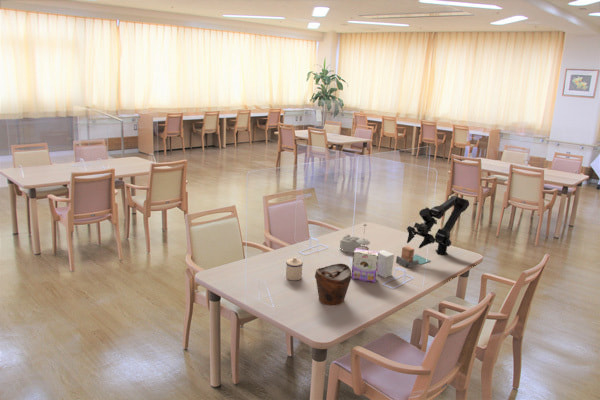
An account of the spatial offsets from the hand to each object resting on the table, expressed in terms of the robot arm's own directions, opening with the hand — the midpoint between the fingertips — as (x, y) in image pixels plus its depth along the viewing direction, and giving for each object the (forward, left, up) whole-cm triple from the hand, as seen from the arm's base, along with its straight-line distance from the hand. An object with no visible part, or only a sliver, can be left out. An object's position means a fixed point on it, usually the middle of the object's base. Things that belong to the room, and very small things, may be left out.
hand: (413, 245), depth 299 cm
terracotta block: (+2, -3, -11) cm, 12 cm away
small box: (+18, -21, -11) cm, 30 cm away
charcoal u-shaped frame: (+2, -3, -11) cm, 12 cm away
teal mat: (-4, +6, -11) cm, 13 cm away
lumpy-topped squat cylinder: (-17, -36, -11) cm, 41 cm away
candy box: (+25, -33, -11) cm, 43 cm away
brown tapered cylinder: (+51, -54, -11) cm, 75 cm away
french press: (+3, -31, -11) cm, 33 cm away
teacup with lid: (+25, -73, -11) cm, 78 cm away
